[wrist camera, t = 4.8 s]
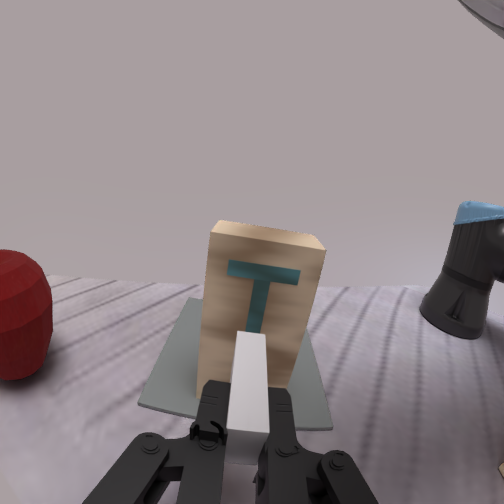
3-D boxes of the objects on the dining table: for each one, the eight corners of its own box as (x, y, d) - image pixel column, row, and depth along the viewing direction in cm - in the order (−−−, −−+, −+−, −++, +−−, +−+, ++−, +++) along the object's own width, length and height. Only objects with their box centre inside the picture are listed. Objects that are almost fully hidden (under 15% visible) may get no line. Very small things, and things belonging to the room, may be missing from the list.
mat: (301, 316, 38) (302, 314, 38) (331, 429, 19) (333, 427, 18) (188, 299, 37) (188, 297, 37) (138, 405, 18) (137, 402, 18)
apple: (86, 359, 21) (71, 242, 18) (20, 427, 11) (-39, 289, 8) (22, 323, 22) (6, 223, 19) (-39, 365, 12) (-73, 251, 9)
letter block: (277, 378, 24) (313, 235, 20) (279, 409, 20) (326, 250, 16) (203, 368, 24) (219, 219, 20) (195, 398, 20) (210, 231, 16)
